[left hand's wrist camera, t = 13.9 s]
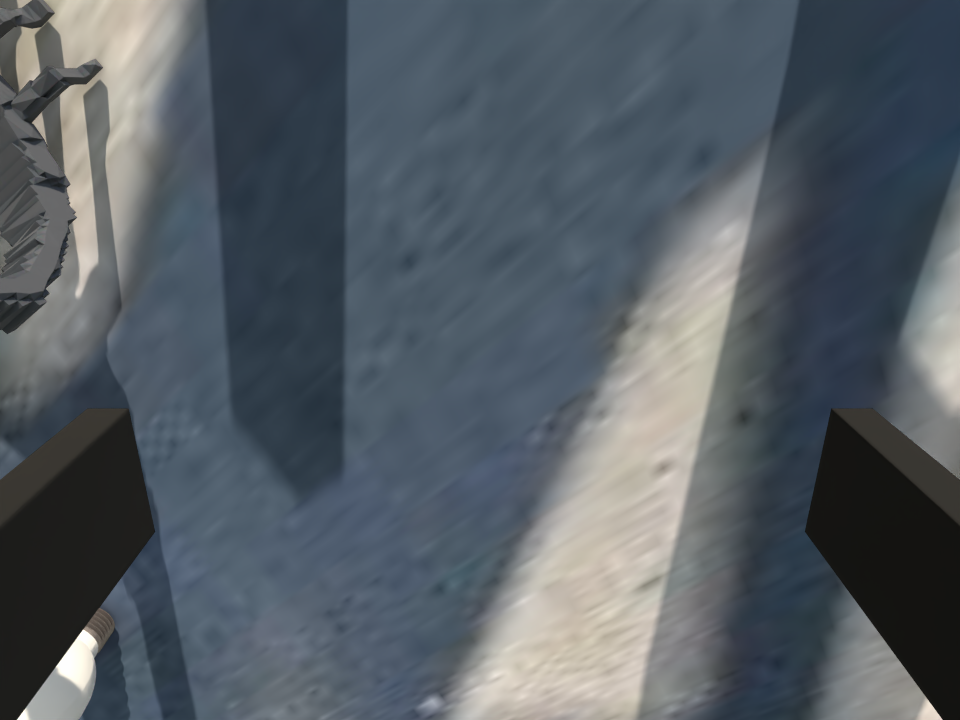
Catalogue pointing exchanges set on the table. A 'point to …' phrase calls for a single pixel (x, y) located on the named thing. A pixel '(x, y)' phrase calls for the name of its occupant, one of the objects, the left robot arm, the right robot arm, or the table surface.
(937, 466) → the left robot arm
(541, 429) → the table surface
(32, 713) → the light bulb
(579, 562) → the table surface
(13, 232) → the toy
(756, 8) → the table surface
